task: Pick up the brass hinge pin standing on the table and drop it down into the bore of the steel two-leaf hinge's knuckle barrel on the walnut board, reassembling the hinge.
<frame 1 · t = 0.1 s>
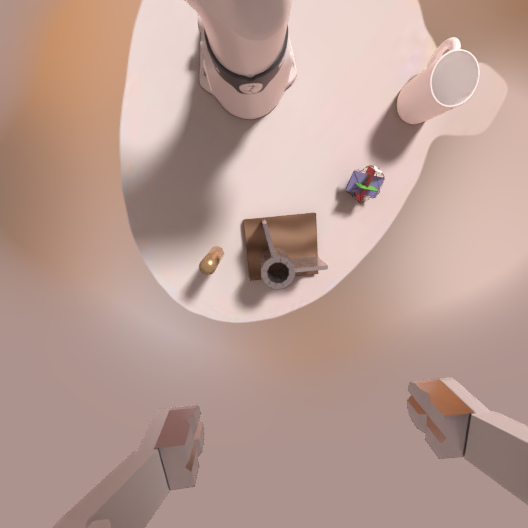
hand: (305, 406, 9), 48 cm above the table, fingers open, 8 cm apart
base board: (281, 246, 56), on the table
hinge pin: (217, 252, 56), on the table
hinge: (274, 261, 56), resting on base board
geometric puzzle: (358, 185, 54), on the table
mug: (416, 93, 50), on the table
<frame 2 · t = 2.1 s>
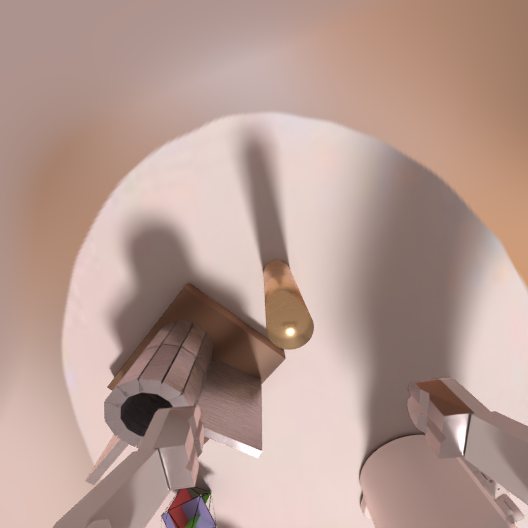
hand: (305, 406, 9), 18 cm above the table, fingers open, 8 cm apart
base board: (198, 364, 30), on the table
hinge pin: (276, 273, 27), on the table
hinge: (183, 347, 27), resting on base board
geometric puzzle: (194, 491, 35), on the table
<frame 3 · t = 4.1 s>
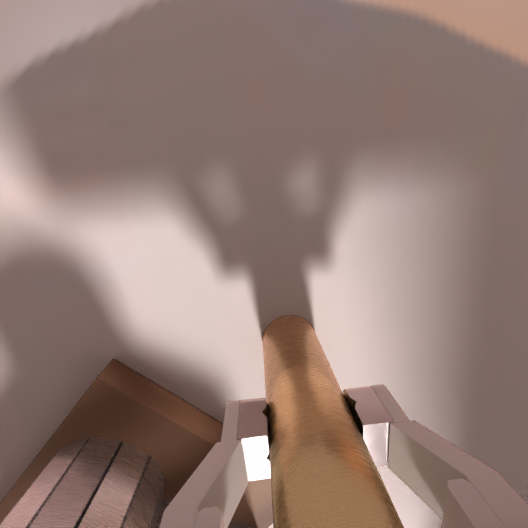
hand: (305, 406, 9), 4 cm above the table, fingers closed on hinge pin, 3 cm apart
base board: (143, 495, 16), on the table
hinge pin: (289, 339, 14), on the table, touching gripper
hinge: (106, 483, 14), resting on base board
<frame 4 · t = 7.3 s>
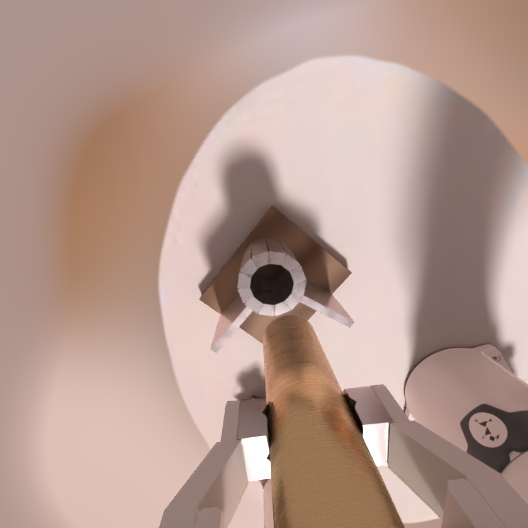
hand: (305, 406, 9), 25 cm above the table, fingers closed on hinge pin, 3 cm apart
base board: (274, 282, 35), on the table
hinge pin: (289, 339, 14), point 21 cm above the table, touching gripper
hinge: (267, 261, 32), resting on base board
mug: (291, 490, 46), on the table
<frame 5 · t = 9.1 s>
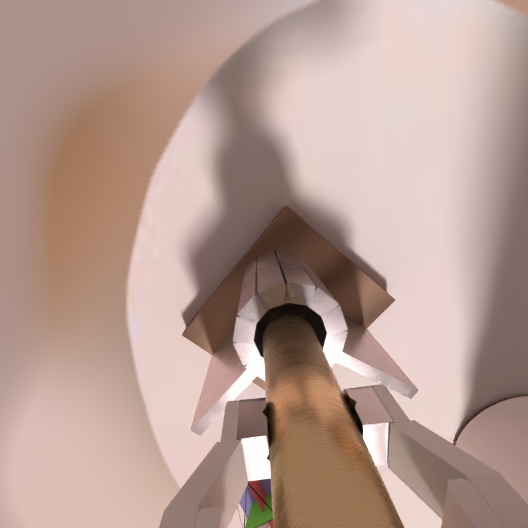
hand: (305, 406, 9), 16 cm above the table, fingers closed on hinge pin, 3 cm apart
base board: (286, 310, 25), on the table
hinge pin: (289, 339, 14), point 11 cm above the table, touching gripper
hinge: (277, 284, 23), resting on base board
geometric puzzle: (265, 464, 31), on the table
when the fingers open (12 cm above the table, at t = 10.7 s): hinge pin drops 6 cm, resting on base board.
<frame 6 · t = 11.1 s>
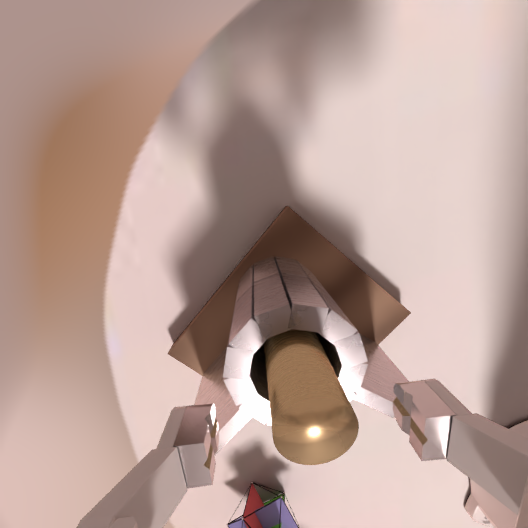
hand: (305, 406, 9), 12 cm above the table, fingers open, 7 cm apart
base board: (286, 324, 22), on the table
hinge pin: (277, 296, 20), point 2 cm above the table, touching base board
hinge: (277, 296, 20), resting on base board
geometric puzzle: (263, 491, 28), on the table
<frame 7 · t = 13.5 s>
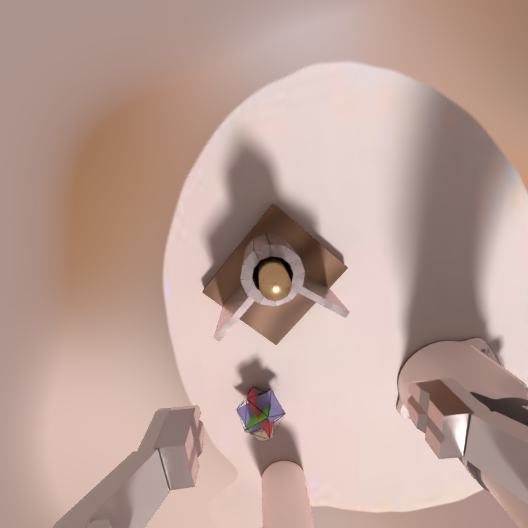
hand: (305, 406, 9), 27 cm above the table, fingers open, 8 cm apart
base board: (274, 276, 36), on the table
hinge pin: (267, 256, 34), point 2 cm above the table, touching base board
hinge: (267, 256, 34), resting on base board
geometric puzzle: (259, 395, 42), on the table
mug: (288, 479, 47), on the table
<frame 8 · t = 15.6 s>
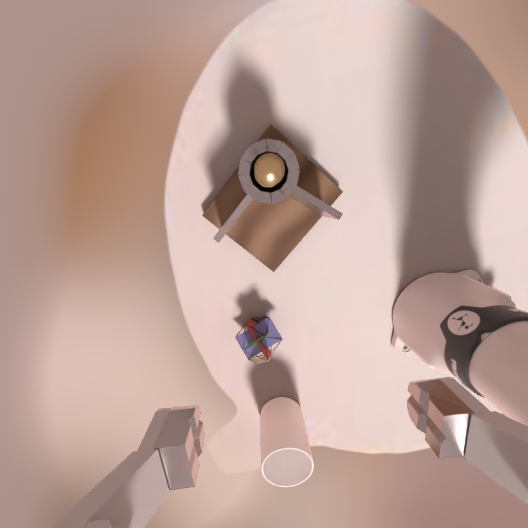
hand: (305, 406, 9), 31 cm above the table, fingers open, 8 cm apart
base board: (271, 203, 38), on the table
hinge pin: (265, 179, 35), point 2 cm above the table, touching base board
hinge: (265, 179, 35), resting on base board
geometric puzzle: (258, 327, 43), on the table
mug: (286, 417, 49), on the table
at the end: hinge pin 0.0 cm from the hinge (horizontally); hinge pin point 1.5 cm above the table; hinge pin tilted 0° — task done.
